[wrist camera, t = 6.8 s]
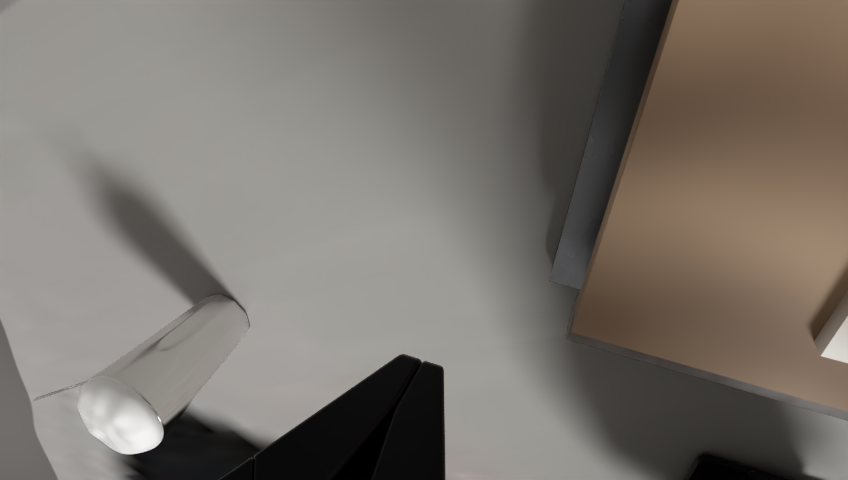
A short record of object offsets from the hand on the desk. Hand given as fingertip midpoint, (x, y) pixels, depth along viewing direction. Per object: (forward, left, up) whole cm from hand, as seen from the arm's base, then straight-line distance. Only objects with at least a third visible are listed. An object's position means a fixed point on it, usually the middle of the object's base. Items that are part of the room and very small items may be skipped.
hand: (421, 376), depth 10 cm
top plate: (+3, -10, -9) cm, 14 cm away
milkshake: (-14, +16, -13) cm, 25 cm away
